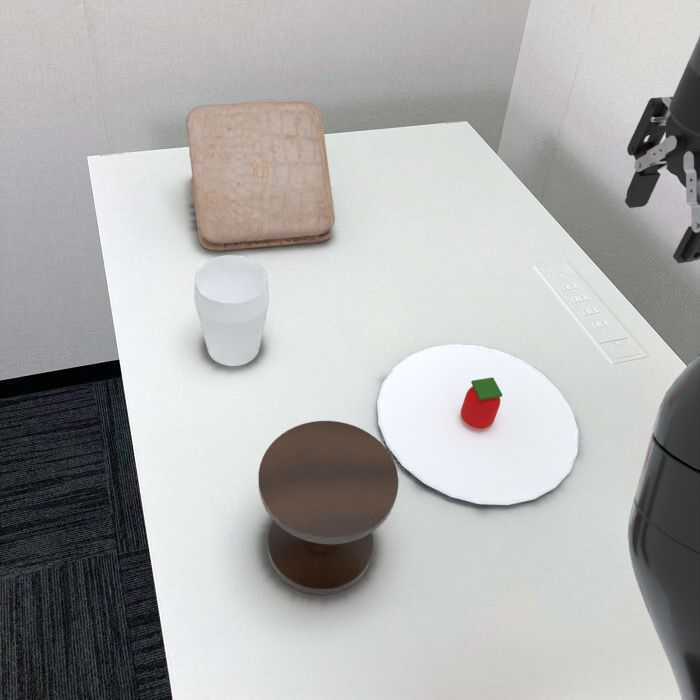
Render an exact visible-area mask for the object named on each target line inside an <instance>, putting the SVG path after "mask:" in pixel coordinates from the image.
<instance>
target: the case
mask: <svg viewBox="0 0 700 700" xmlns="http://www.w3.org/2000/svg"><path fill="white" fill-rule="evenodd" d="M323 120H324V119H323V115H322V112H321V111H320V109H319V107H318V106H317V105H316V104H314V103H313V102H310V101H307V100H305V101H303V100H296V101H295V100H294V101H293V100H292V101H251V102H250V101H249V102H237V103H223V104H203V105H198V106H196V107H193V108H192V109H190V111H189V112H188V113H187V115H186V120H185V124H186V125H185V127H186V134H187V141H188V142H187V143H188V150H189V151H188V153H189V160H190V167H191V175H192V177H191V178H190V180H189V186H190V191H191V195H192V201H193V205H194V206H193V207H194V212H195V219H196V226H197V227H196V228H197V233H198V239H199V243H200V244H201V246H202V247H203V248H204V249H206V250H209V251H213V252H220V251H232V250H243V249H254V248H265V247H274V246H286V245H287V246H288V245H296V244H310V243H311V244H312V243H318V242H319V243H320V242H325V241H327V240H329V238H330V237H331V236H332V234H333V229H332V228H333V226H334V225H335V220H336V215H335V207H334V199H333V193H332V186H331V178H330V169H329V161H328V160H329V159H328V153H327V144H326V137H325V129H324V122H323Z"/></svg>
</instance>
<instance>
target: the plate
mask: <svg viewBox="0 0 700 700" xmlns="http://www.w3.org/2000/svg"><path fill="white" fill-rule="evenodd" d="M492 377H493V378H494V380H495V382H496V384H497V385H498V387H499V389H500V391H501V393H502V397H500V406H499V409H498V412H497V414H496V417H495V420H494V422H493V424H492V425H491V426H489V427H487V428H483V429H478V428H474V427H471V426H469V425H468V424H466V423H465V422H464V420H463V419H462V417H461V408H462V405H463V402H464V399H465V396H466V393H467V391H468V390H469V389H470V388H471V387H472V386H473V385H472V383H471V382H472V381H473V380H479V379H486V378H492ZM377 397H378V398H377V401H376V409H377V410H376V411H377V424H378V428H379V430H380V432H381V433H380V434H381V436H382V438H383V440H384V443H385V446H386V447H387V448H388V450H389V451H390V453H391V454H392V455H393V456H394V458H395V459H396V460H397V462H398V464H399V465H400V466H401V467H402V468H403V469H404V470H406V471H407V472H408V473H409V474H411V475H412V476H413V477H414V478H416V480H418V481H419V482H420V483H421V484H423V485H424V486H426V487H428V488H429V489H430V488H431V489H432V490H434V491H436V492H438V493H440V494H442V495H444V496H446V497H448V498H450V499H454V500H459V501H461V502H466V503H470V504H473V505H478V506H496V507H497V506H498V507H501V506H502V507H503V506H504V507H509V506H514V505H518V504H522V503H527V502H532V501H534V500H537V499H538V498H540V497H542V496H544V495H546V494H547V493H549V492H551V491H553V490H555V489H556V488H557V487H558V486H559V485H560V484H561V482H562V481H563V480H565V478H566V477H567V476H568V475H569V474H570V472H571V471H572V468H573V467H574V463H575V461H576V458H577V456H578V453H579V428H578V426H577V422H576V418H575V416H574V412H573V410H572V408H571V407H570V405H569V403H568V401H567V400H566V398H565V397H564V395H563V393H562V392H561V390H559V388H557V386H555V384H554V383H553V382H552V381H551V380H550V379H549V378H548V377H547V376H546V375H544V373H542V372H541V371H539V370H537V369H536V368H535V367H534V366H532V365H530V364H529V363H527V362H525V361H524V360H523V359H521V358H518V357H515V356H513V355H512V354H508V353H506V352H504V351H502V350H499V349H495V348H490V347H486V346H482V345H478V344H460V343H449V344H444V345H437V346H431V347H428V348H425V349H422V350H420V351H418V352H415V353H413V354H409V355H408V356H407V357H405V358H404V359H403V360H401V361H400V362H399V363H398V364H396V365H395V366H394V367H392V369H391V370H390V372H389V374H388V375H387V377H386V378H385V379H384V380H383V382H382V383H381V388H380V391H379V394H378V396H377Z"/></svg>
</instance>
